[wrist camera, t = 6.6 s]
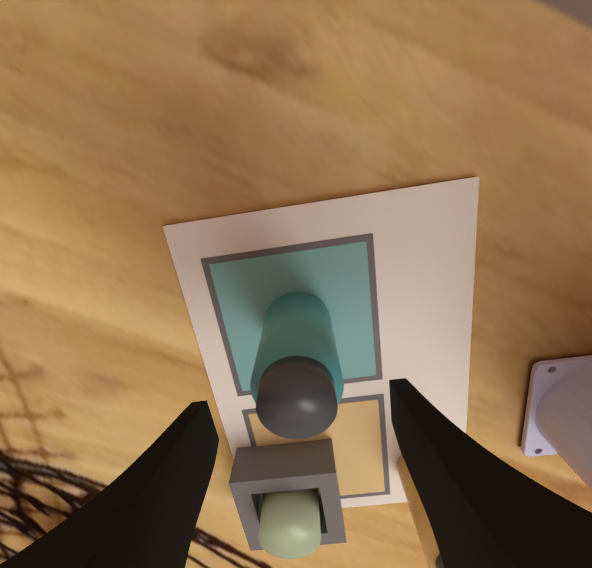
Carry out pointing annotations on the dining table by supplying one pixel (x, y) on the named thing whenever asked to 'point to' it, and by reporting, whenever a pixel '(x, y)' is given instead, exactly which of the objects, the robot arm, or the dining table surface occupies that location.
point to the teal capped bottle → (297, 368)
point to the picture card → (342, 311)
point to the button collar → (287, 483)
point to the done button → (290, 523)
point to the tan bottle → (419, 517)
